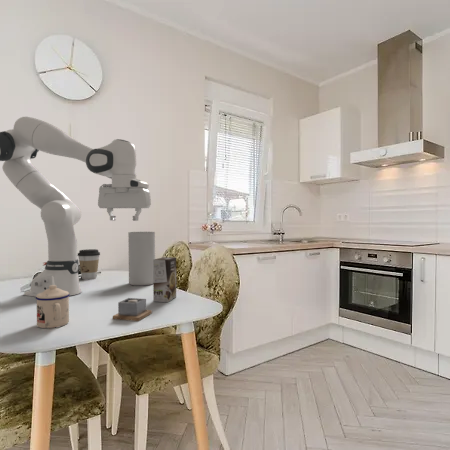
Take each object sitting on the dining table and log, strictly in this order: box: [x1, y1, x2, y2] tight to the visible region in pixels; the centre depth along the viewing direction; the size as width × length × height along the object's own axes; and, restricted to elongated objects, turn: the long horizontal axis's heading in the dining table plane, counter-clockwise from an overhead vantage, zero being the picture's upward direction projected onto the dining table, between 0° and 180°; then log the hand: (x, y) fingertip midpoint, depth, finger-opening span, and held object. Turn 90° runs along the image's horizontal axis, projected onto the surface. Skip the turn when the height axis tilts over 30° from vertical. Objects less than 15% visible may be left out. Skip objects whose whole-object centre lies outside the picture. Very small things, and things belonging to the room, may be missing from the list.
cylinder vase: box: [127, 231, 156, 287], centre depth 167 cm, size 12×12×25 cm
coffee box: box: [152, 256, 177, 303], centre depth 135 cm, size 9×6×16 cm
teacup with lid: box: [35, 285, 71, 329], centre depth 102 cm, size 12×9×12 cm
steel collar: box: [117, 297, 147, 316], centre depth 112 cm, size 6×6×4 cm
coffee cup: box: [77, 248, 101, 281], centre depth 182 cm, size 11×11×15 cm
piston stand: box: [112, 300, 153, 322], centre depth 112 cm, size 9×9×5 cm
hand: (124, 220), depth 129 cm, fingers open, 8 cm apart
